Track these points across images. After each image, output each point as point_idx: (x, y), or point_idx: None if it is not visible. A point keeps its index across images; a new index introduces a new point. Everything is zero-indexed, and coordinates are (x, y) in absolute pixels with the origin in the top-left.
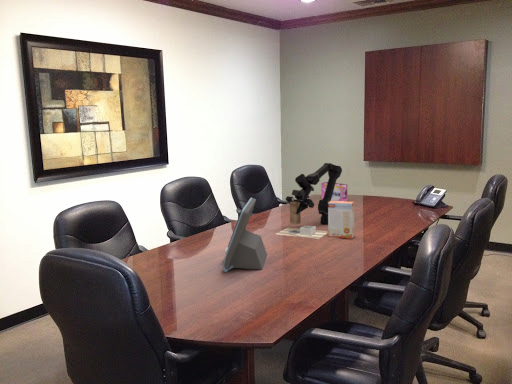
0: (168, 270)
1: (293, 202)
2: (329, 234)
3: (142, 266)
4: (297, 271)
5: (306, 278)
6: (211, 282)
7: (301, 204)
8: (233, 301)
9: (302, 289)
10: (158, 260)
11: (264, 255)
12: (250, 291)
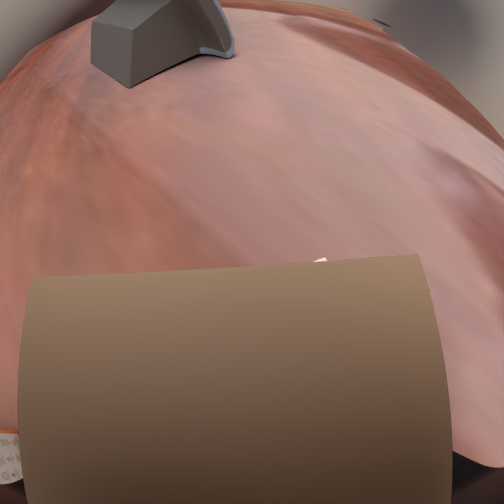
0: (238, 6)
1: (247, 400)
2: (4, 430)
3: (288, 3)
4: (27, 99)
5: (11, 100)
6: None
7: (8, 496)
8: (82, 34)
9: (14, 85)
10: (302, 11)
11: (111, 67)
12: (74, 45)
